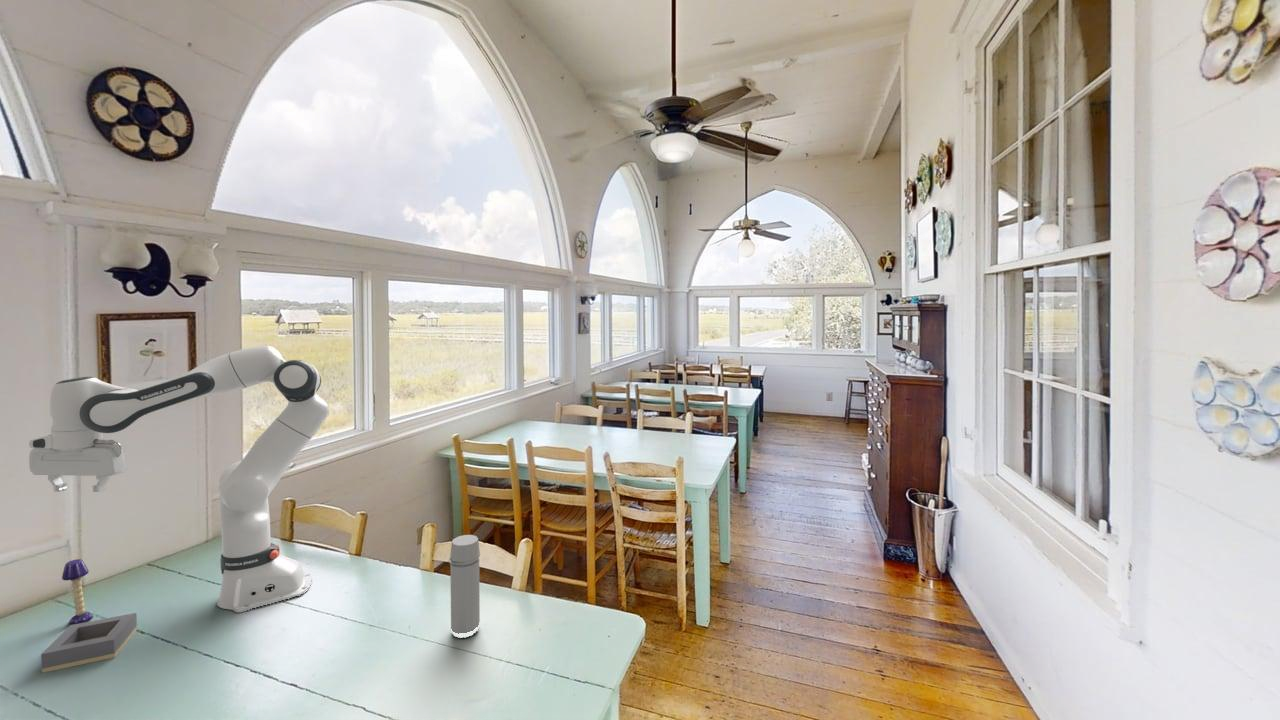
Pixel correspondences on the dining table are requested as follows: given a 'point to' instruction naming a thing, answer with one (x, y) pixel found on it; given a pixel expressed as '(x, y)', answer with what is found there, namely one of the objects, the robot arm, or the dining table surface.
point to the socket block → (89, 642)
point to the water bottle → (465, 583)
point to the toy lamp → (77, 589)
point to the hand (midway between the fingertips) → (79, 491)
